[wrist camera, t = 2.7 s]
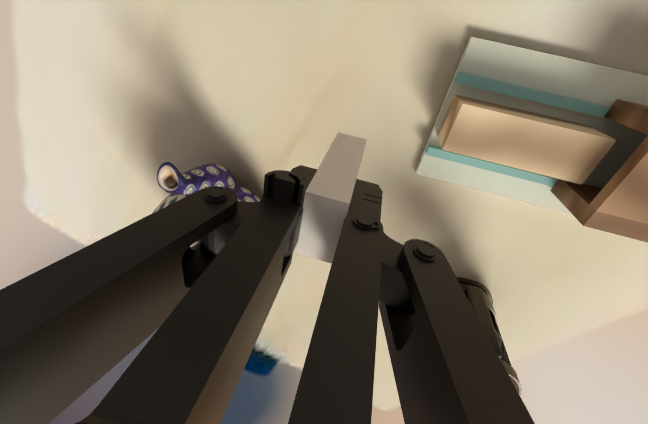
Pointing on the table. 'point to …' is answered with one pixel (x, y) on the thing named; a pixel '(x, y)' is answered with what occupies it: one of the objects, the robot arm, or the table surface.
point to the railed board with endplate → (541, 98)
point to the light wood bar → (522, 139)
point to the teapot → (197, 183)
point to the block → (615, 185)
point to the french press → (488, 322)
